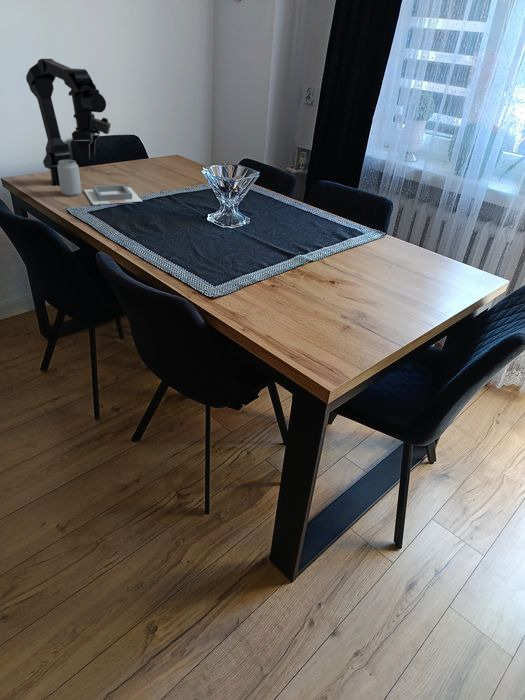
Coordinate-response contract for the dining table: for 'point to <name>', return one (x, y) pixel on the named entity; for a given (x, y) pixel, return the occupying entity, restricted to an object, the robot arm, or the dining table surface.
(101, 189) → the collar plate
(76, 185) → the can
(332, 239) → the dining table surface
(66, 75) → the robot arm
